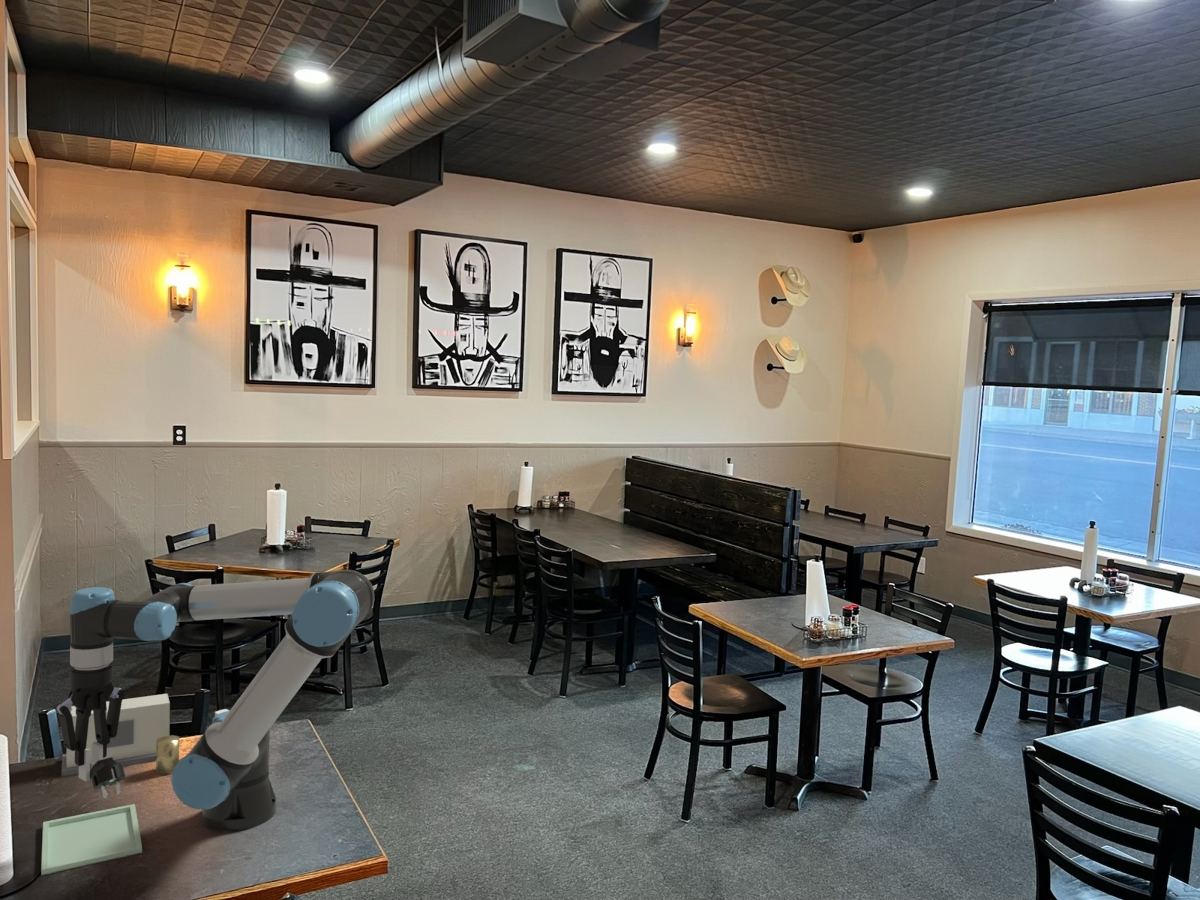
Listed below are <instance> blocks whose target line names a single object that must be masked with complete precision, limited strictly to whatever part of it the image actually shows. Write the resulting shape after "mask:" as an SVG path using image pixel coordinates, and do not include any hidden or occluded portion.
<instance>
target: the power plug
mask: <svg viewBox="0 0 1200 900" xmlns="http://www.w3.org/2000/svg"><path fill="white" fill-rule="evenodd" d="M125 779H126V773H125V770H124V766H123V765H122V764H120V763H118V762H115V761H114V760H113V758H112V757H110V758H107V759H103V760H99V761H97V762H96V763H95V764H94V765H93V766H92V768H91V770H90V780H89V781H91V783H92V787H93V790H100V789H101V792H102V796H103V799H107V798H108V797H109V795H108V791H107V787H111V786H113V785H115V790H116V794H117V795H121V794H122V788H121V784H120V782H121V781H123V780H125Z"/></svg>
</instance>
